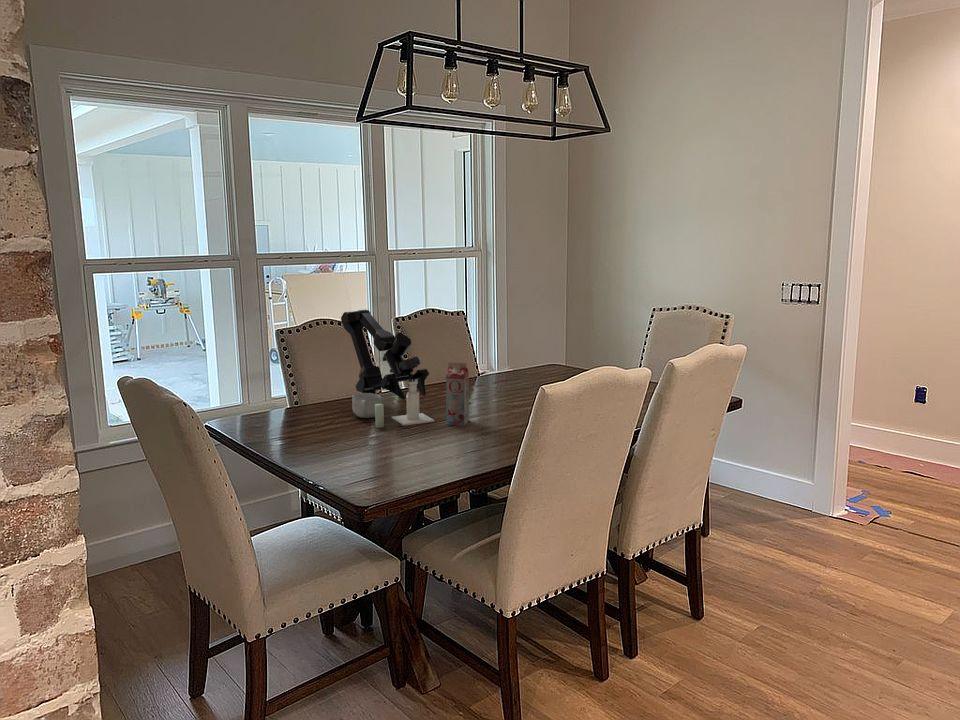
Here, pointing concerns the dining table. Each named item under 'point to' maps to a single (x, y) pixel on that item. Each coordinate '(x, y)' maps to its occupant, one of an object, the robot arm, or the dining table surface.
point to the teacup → (365, 404)
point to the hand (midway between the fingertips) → (414, 397)
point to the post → (379, 415)
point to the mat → (405, 421)
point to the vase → (412, 401)
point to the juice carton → (457, 394)
